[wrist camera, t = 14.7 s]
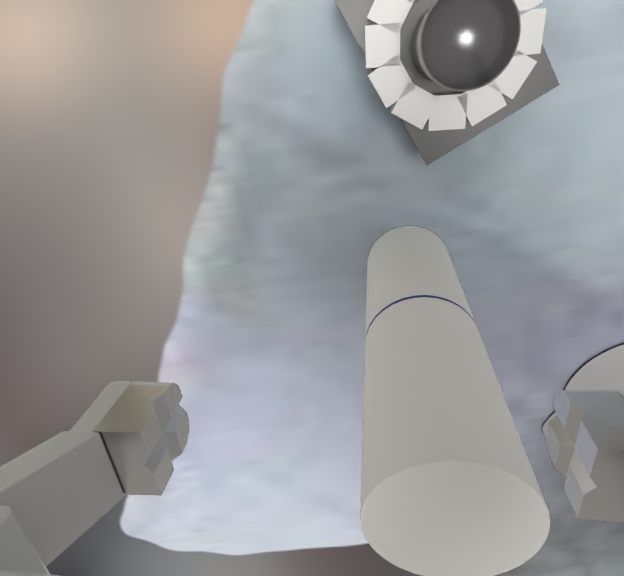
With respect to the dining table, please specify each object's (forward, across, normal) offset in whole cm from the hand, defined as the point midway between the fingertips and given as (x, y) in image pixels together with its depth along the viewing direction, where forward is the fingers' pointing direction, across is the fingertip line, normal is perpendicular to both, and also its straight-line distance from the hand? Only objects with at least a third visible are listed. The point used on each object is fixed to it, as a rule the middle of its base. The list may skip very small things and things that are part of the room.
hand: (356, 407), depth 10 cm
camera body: (+29, -5, -7) cm, 30 cm away
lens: (+24, -5, -7) cm, 26 cm away
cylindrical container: (+29, -3, +10) cm, 31 cm away
